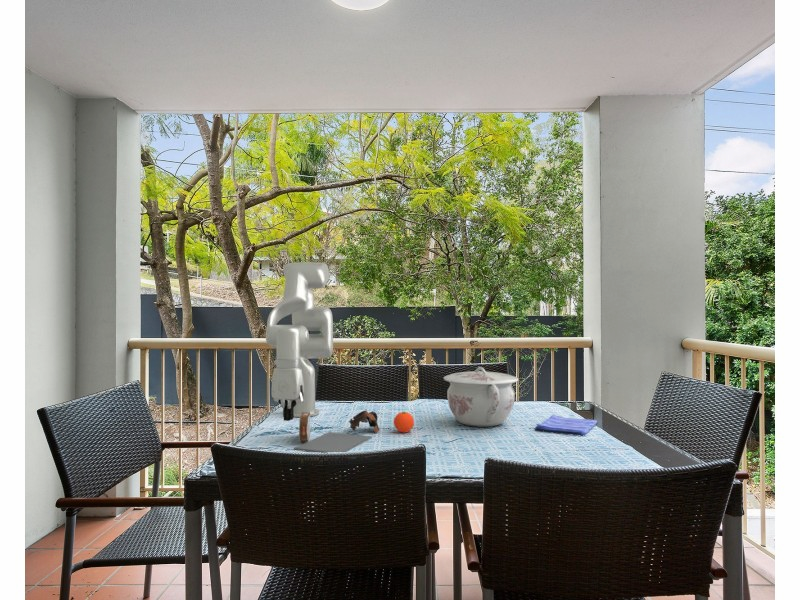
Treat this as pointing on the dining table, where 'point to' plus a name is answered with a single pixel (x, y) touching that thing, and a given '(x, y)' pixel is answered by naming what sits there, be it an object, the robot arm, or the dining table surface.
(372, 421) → the pottery mug
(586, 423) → the dish towel
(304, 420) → the tin
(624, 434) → the dining table surface
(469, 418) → the chamber pot
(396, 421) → the clementine
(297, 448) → the mat
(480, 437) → the dining table surface
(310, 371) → the robot arm
